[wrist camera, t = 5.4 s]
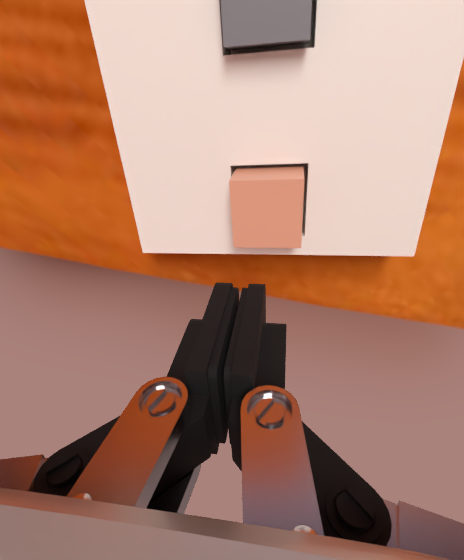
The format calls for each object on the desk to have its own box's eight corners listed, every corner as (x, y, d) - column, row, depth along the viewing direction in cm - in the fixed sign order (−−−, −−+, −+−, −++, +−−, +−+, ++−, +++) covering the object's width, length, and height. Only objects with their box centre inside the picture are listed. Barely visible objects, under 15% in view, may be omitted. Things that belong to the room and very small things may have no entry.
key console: (474, -122, 16) (520, -170, 13) (398, 232, 26) (413, 256, 23) (102, -63, 20) (63, -90, 16) (159, 232, 30) (143, 252, 26)
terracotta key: (303, 166, 22) (304, 178, 19) (300, 229, 24) (301, 248, 21) (236, 168, 22) (228, 180, 20) (239, 229, 25) (233, 247, 22)
